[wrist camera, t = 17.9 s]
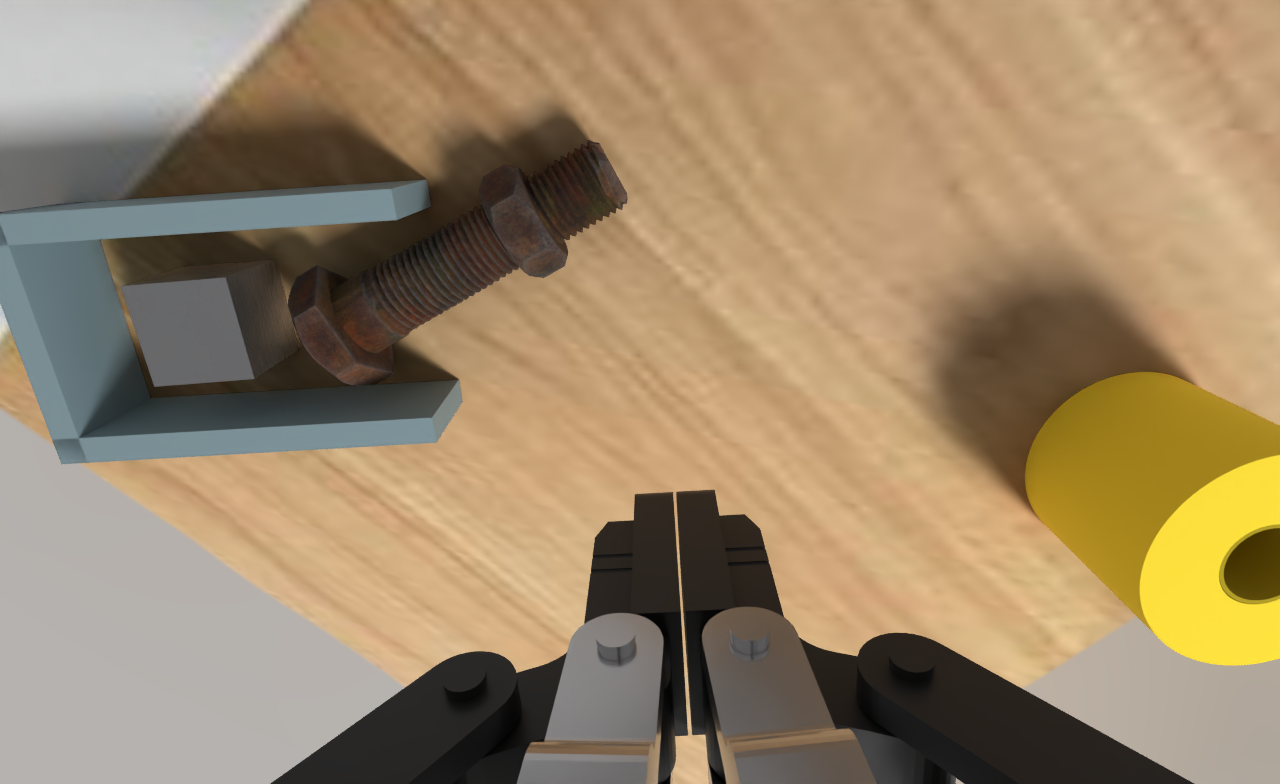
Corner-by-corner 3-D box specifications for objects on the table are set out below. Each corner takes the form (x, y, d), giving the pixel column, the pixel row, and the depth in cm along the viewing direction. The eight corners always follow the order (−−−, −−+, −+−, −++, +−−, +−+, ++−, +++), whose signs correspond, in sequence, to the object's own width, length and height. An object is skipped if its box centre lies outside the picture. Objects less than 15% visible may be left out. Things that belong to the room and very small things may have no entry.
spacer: (184, 266, 35) (120, 286, 30) (276, 258, 34) (225, 277, 30) (211, 356, 36) (154, 386, 32) (299, 349, 36) (254, 379, 32)
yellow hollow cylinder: (1257, 461, 38) (1444, 564, 29) (1093, 576, 40) (1220, 703, 32) (1154, 331, 36) (1324, 401, 27) (986, 462, 38) (1091, 566, 29)
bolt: (621, 180, 35) (366, 329, 37) (572, 91, 31) (291, 262, 33) (655, 249, 31) (368, 411, 33) (603, 156, 27) (283, 345, 29)
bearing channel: (62, 203, 33) (-33, 216, 29) (427, 179, 33) (391, 188, 28) (134, 421, 37) (61, 464, 33) (462, 401, 37) (436, 442, 32)
